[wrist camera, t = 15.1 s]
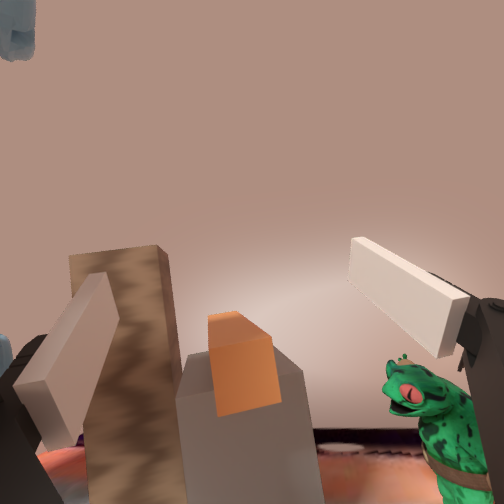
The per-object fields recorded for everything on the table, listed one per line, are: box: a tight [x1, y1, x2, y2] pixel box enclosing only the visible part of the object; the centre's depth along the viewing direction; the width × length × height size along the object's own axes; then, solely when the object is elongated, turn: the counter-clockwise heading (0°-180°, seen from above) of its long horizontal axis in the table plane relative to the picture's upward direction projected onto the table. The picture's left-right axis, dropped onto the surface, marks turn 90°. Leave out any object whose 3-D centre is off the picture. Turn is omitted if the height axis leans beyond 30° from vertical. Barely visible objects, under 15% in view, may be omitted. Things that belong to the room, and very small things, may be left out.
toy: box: [382, 354, 494, 504], centre depth 21 cm, size 26×6×15 cm, turn 167°
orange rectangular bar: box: [208, 311, 282, 417], centre depth 28 cm, size 4×22×4 cm, turn 9°
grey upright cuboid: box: [175, 346, 325, 504], centre depth 27 cm, size 10×14×16 cm
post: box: [69, 245, 188, 504], centre depth 37 cm, size 10×10×30 cm
